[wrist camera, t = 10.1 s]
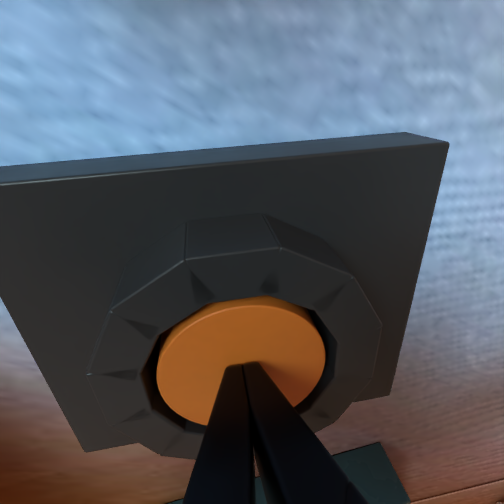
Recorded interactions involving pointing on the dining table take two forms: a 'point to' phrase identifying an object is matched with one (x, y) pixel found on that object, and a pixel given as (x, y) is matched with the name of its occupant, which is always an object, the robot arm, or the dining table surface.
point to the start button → (238, 352)
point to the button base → (212, 266)
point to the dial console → (362, 476)
